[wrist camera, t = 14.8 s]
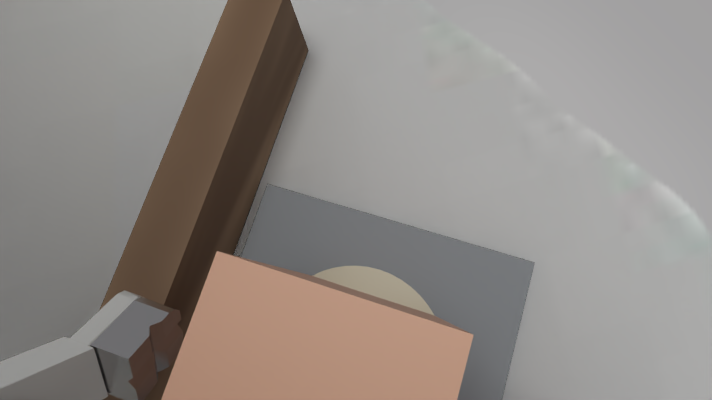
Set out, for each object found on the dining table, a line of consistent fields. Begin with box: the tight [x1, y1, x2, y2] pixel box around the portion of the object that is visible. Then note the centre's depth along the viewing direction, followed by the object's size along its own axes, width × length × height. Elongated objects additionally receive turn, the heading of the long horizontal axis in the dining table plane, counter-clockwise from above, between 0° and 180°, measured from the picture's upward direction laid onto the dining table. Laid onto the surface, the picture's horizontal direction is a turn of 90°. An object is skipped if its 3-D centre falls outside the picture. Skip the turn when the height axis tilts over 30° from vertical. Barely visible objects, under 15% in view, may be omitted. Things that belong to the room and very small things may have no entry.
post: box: [161, 251, 474, 400], centre depth 12 cm, size 5×5×9 cm
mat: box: [241, 184, 535, 400], centre depth 17 cm, size 11×11×1 cm
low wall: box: [100, 0, 308, 400], centre depth 16 cm, size 2×20×4 cm, turn 162°
